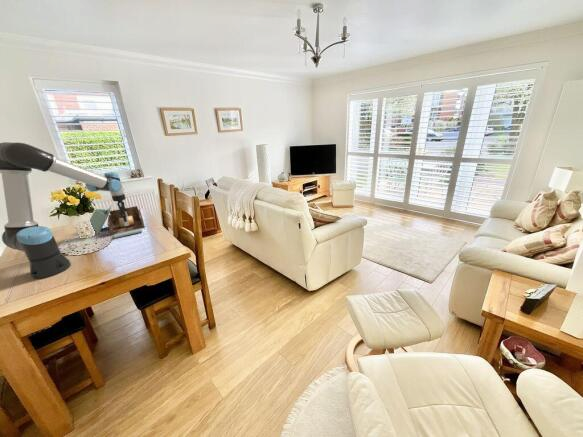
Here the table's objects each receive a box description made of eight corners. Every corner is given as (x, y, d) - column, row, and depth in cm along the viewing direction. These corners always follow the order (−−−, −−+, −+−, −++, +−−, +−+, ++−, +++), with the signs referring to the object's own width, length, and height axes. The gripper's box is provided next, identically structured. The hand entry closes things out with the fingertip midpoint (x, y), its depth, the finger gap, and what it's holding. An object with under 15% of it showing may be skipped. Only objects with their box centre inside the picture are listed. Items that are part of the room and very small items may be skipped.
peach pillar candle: (121, 228, 169) (118, 220, 166) (121, 225, 175) (118, 216, 172) (134, 226, 173) (132, 217, 170) (134, 222, 179) (131, 214, 176)
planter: (87, 222, 175) (100, 198, 174) (100, 225, 180) (112, 202, 180) (85, 229, 162) (98, 203, 162) (99, 233, 167) (112, 208, 167)
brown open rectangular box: (111, 236, 161) (105, 220, 156) (112, 226, 178) (107, 211, 173) (145, 229, 171) (140, 213, 166) (143, 220, 188) (138, 205, 183)
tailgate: (115, 235, 161) (114, 238, 154) (114, 234, 161) (113, 236, 154) (142, 229, 169) (142, 231, 163) (141, 228, 169) (141, 230, 162)
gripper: (124, 197, 157) (133, 226, 165) (124, 190, 176) (132, 216, 184) (110, 199, 153) (120, 229, 161) (111, 191, 172) (120, 219, 180)
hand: (126, 222), depth 173 cm, fingers open, 13 cm apart
